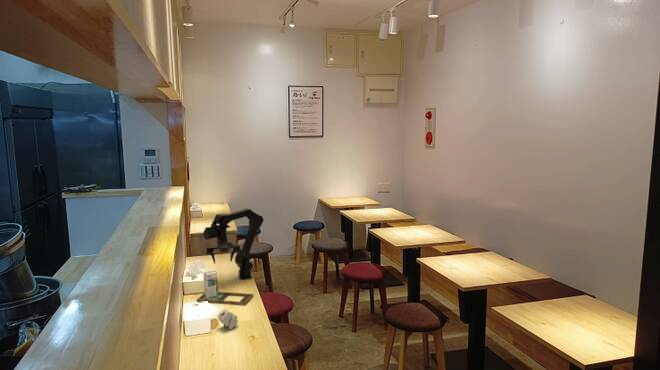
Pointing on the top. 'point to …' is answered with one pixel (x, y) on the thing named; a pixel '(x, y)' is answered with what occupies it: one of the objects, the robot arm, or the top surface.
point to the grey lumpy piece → (227, 319)
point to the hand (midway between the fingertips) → (222, 262)
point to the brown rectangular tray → (224, 295)
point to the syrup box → (210, 284)
